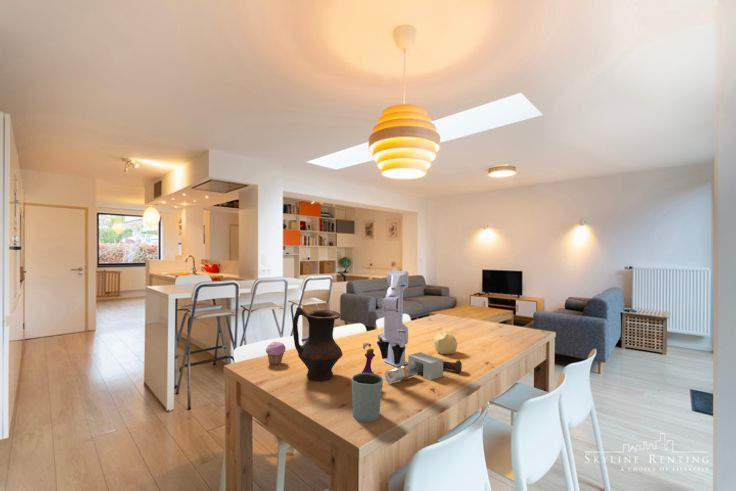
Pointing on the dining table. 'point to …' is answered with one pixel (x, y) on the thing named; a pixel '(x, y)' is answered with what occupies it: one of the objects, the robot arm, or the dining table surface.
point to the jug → (318, 343)
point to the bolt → (453, 366)
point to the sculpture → (445, 343)
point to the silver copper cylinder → (401, 373)
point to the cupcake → (275, 352)
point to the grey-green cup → (366, 396)
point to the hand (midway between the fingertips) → (390, 361)
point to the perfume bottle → (368, 358)
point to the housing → (427, 365)
